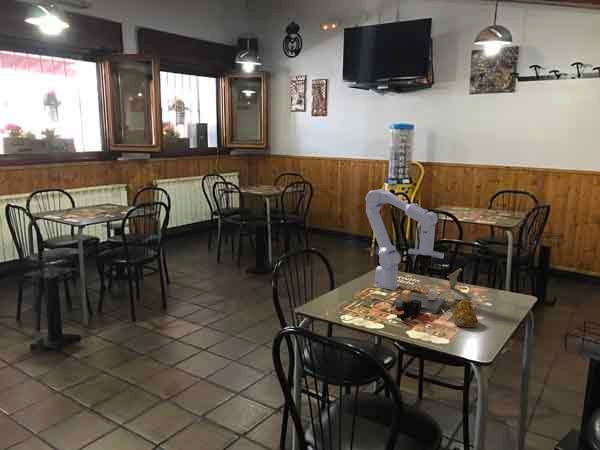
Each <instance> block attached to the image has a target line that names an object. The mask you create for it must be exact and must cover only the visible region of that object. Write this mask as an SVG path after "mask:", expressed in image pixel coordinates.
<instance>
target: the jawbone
mask: <svg viewBox="0 0 600 450" xmlns="http://www.w3.org/2000/svg"><path fill="white" fill-rule="evenodd" d="M461 271H463V269H462V268H461V267H460V268H458V269H457V270H455V271H453V272H452V273H450V274H448V276H447V278H448V279H449V288H448V289H449V291H450V292H451V293H452V295H453V297H454V298H453V299H454V300H455V301H457V300H459V301H462V300H467V301H471V300H472V297H467V296H466V295H464V294H462V291H461V289H458V288H456V286H457V285H458V284H459V283H458V276H459V273H460V272H461Z"/></svg>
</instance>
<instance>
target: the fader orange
mask: <svg viewBox="0 0 600 450" xmlns="http://www.w3.org/2000/svg"><path fill="white" fill-rule="evenodd" d="M410 293H412V292H411V290H408V289H404V290H403V291H402V292H401V294H400V295H401V301H404V302H408V301H409V300H410Z"/></svg>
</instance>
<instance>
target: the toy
mask: <svg viewBox="0 0 600 450" xmlns="http://www.w3.org/2000/svg"><path fill="white" fill-rule="evenodd" d="M395 310H396V312H398V313H400V312H402V313H400V314H396V318H397V319H399V320H400V321H404V320H407V319H409V318H411V317H413V316H419V315H420V314H421V312H422V311H421V301H420V300H411V302H409V303H403V304H402V306H401V307H400V306H395Z"/></svg>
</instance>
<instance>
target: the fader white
mask: <svg viewBox="0 0 600 450" xmlns="http://www.w3.org/2000/svg"><path fill="white" fill-rule="evenodd" d="M437 295H438V289H436V288H430V289H429V290H428V293H427V296H428V299H429V300H435V299H436V298H438V297H437Z"/></svg>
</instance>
